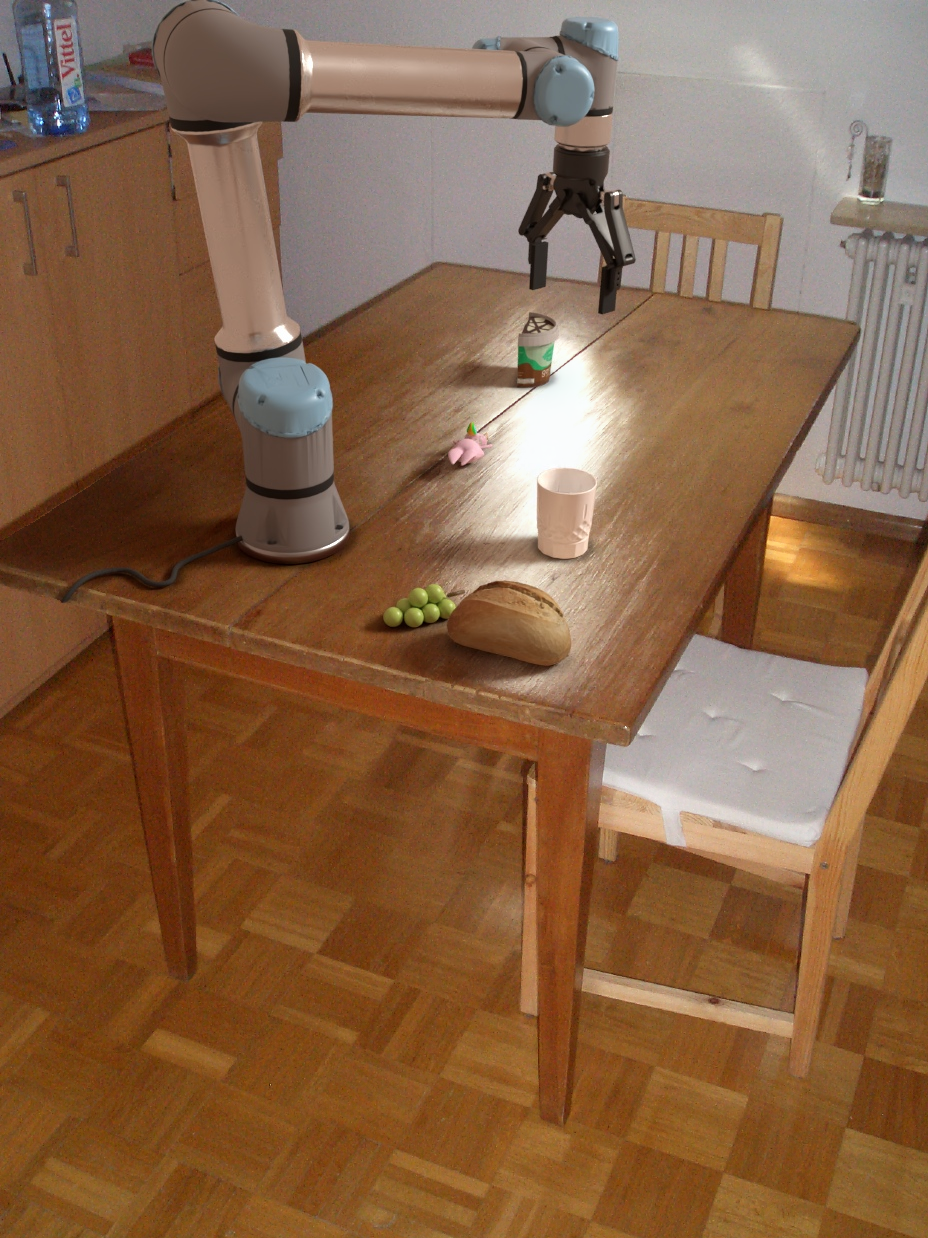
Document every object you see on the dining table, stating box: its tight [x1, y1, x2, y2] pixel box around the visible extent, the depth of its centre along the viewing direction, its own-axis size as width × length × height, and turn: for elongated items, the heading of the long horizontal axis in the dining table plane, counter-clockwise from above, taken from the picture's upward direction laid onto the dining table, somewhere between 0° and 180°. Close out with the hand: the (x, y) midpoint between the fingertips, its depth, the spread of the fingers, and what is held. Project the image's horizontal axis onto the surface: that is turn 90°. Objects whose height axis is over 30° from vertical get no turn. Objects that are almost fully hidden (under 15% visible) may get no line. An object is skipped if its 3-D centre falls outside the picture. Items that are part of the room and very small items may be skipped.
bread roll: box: [446, 580, 572, 667], centre depth 148 cm, size 10×15×8 cm, turn 73°
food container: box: [516, 311, 560, 389], centre depth 220 cm, size 12×6×10 cm, turn 168°
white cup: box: [536, 467, 598, 560], centre depth 169 cm, size 8×8×10 cm
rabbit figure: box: [447, 421, 493, 466], centre depth 192 cm, size 6×6×15 cm
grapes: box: [382, 583, 466, 628], centre depth 155 cm, size 11×5×4 cm, turn 118°
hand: (571, 299), depth 181 cm, fingers open, 13 cm apart
